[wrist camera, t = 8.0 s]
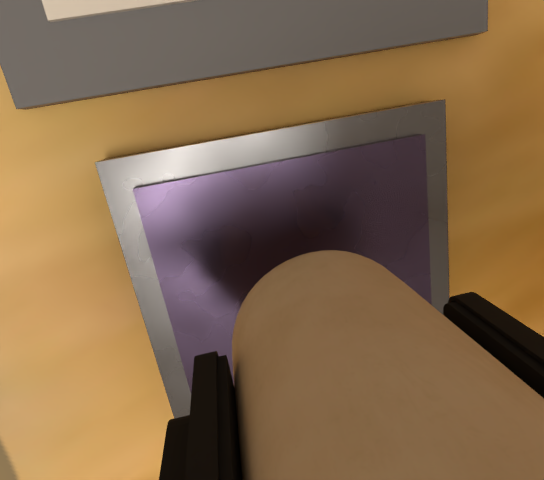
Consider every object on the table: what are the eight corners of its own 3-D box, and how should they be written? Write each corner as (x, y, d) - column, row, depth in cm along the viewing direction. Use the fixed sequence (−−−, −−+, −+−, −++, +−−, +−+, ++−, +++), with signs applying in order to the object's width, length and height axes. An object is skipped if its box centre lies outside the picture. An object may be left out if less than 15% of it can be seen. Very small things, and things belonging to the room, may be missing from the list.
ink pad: (427, 101, 14) (451, 98, 13) (436, 365, 18) (456, 387, 17) (105, 159, 13) (90, 163, 12) (185, 426, 17) (182, 455, 16)
